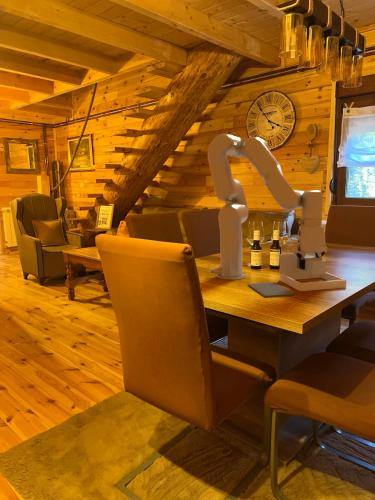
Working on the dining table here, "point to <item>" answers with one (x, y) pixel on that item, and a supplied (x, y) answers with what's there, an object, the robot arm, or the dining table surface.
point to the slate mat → (270, 289)
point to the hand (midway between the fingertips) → (309, 268)
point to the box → (313, 265)
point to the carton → (306, 275)
